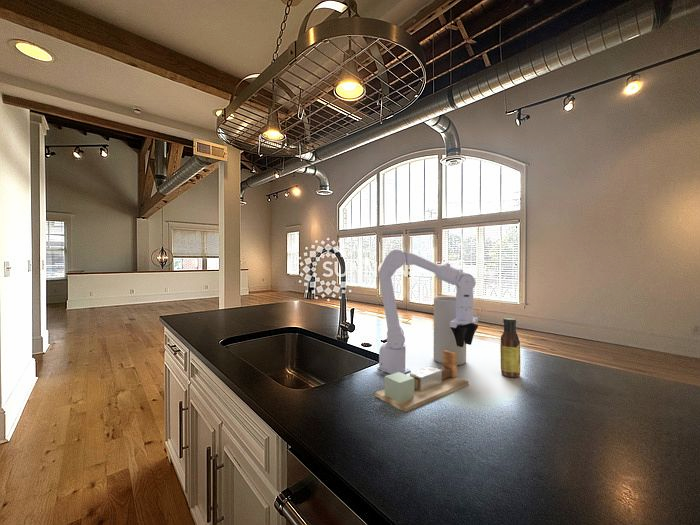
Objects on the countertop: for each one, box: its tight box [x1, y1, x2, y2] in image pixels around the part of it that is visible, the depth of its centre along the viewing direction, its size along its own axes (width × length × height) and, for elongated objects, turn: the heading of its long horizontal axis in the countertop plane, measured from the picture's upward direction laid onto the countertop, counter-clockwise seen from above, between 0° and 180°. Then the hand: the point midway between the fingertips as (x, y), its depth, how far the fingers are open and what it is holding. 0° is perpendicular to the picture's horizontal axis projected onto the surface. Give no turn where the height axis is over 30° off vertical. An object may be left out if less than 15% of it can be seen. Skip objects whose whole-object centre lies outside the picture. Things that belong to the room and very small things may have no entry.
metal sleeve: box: [409, 365, 442, 392], centre depth 96 cm, size 4×10×4 cm, turn 128°
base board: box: [374, 376, 469, 413], centre depth 95 cm, size 12×30×1 cm, turn 128°
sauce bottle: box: [499, 317, 521, 378], centre depth 109 cm, size 7×6×20 cm
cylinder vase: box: [433, 296, 467, 366], centre depth 124 cm, size 12×12×25 cm
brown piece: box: [413, 350, 458, 388], centre depth 98 cm, size 4×20×8 cm, turn 128°
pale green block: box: [384, 372, 414, 402], centre depth 88 cm, size 6×6×5 cm
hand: (464, 345), depth 109 cm, fingers open, 4 cm apart
